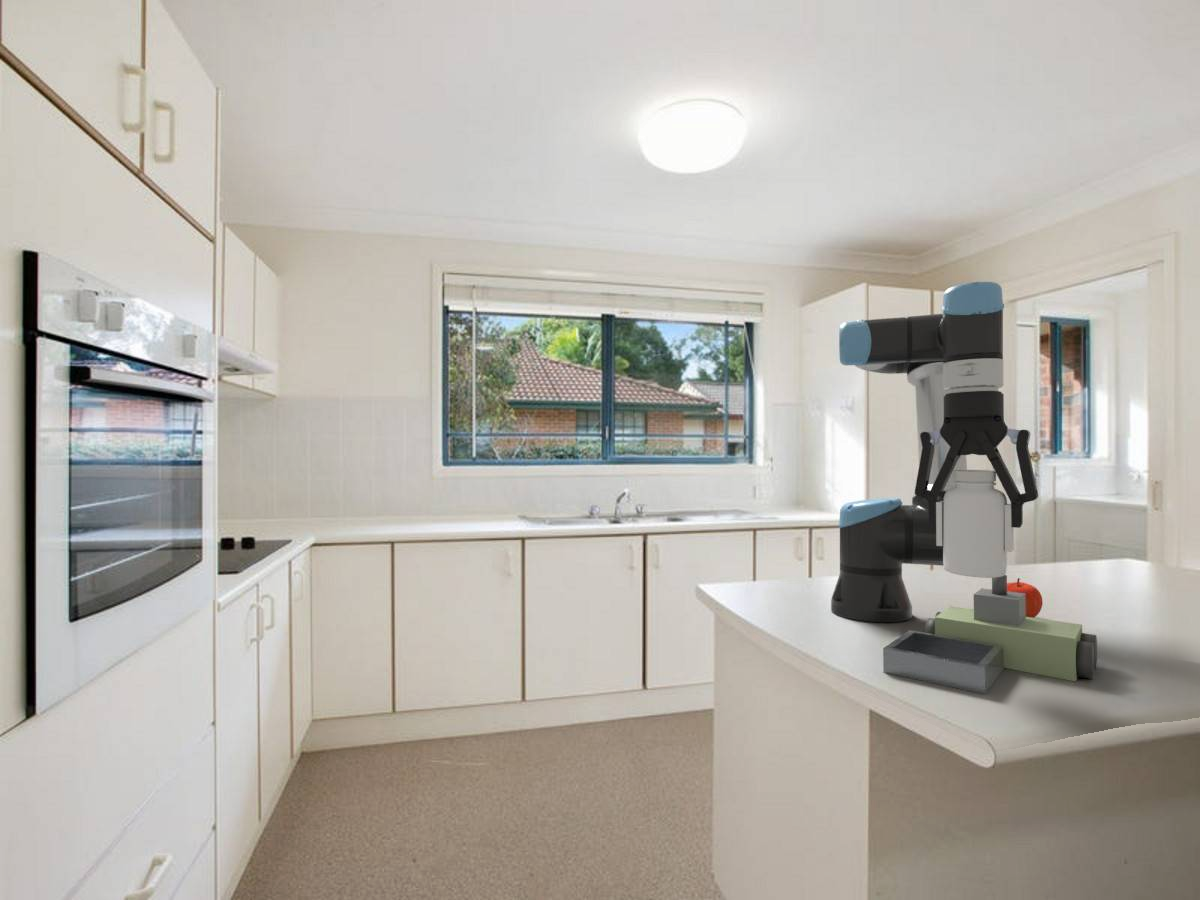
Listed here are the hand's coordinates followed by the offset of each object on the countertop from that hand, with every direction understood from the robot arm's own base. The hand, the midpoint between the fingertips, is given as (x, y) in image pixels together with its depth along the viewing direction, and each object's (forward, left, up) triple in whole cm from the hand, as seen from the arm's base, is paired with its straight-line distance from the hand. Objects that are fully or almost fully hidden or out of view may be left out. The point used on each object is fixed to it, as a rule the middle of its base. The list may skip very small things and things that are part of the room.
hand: (974, 547), depth 90 cm
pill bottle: (0, 0, -4) cm, 4 cm away
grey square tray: (-4, -1, -19) cm, 19 cm away
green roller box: (+2, +12, -19) cm, 22 cm away
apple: (-1, +42, -19) cm, 46 cm away
